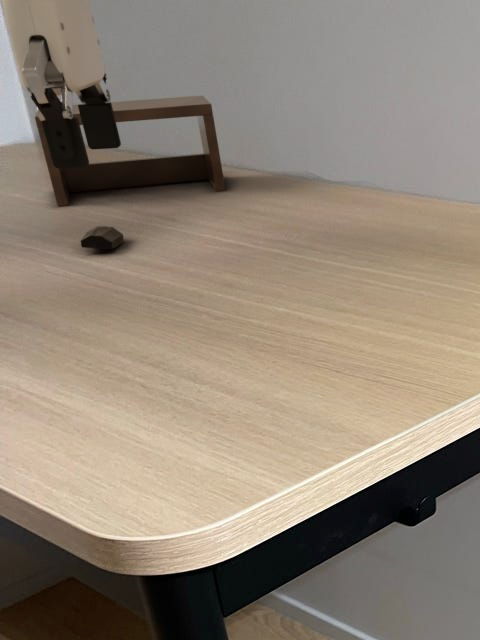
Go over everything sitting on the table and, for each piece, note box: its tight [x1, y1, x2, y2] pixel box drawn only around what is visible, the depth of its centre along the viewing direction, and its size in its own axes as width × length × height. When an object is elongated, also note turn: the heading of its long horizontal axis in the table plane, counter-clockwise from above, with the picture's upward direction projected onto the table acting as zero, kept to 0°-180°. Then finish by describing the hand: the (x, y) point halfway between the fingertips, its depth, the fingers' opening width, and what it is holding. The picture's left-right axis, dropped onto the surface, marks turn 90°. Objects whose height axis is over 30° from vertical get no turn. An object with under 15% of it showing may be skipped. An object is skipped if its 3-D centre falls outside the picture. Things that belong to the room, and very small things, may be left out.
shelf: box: [34, 95, 227, 207], centre depth 123 cm, size 20×10×10 cm, turn 109°
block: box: [80, 225, 125, 250], centre depth 100 cm, size 4×6×2 cm, turn 11°
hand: (89, 157), depth 96 cm, fingers open, 9 cm apart
